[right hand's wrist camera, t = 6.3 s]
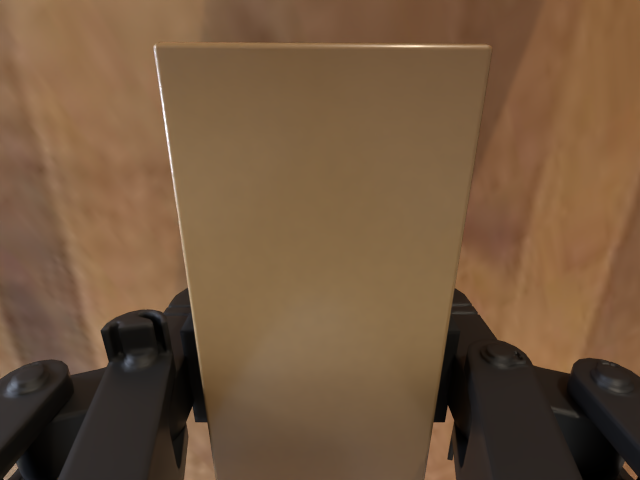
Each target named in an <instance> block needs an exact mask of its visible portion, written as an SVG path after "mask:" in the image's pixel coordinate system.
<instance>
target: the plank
mask: <svg viewBox="0 0 640 480" xmlns="http://www.w3.org/2000/svg"><path fill="white" fill-rule="evenodd" d="M491 55H492V46H490V45H488V44H426V43H249V42H158V43H156V44H154V56H155V63H156V69H157V76H158V83H159V90H160V97H161V104H162V111H163V118H164V125H165V132H166V138H167V145H168V152H169V159H170V166H171V173H172V180H173V187H174V194H175V201H176V208H177V214H178V221H179V228H180V235H181V242H182V249H183V256H184V263H185V270H186V277H187V284H188V290H189V297H190V304H191V311H192V318H193V325H194V332H195V339H196V346H197V353H198V359H199V366H200V373H201V380H202V387H203V394H204V401H205V408H206V415H207V422H208V429H209V435H210V442H211V449H212V456H213V463H214V470H215V477H216V480H424V478H425V471H426V465H427V459H428V453H429V446H430V440H431V434H432V427H433V421H434V415H435V408H436V402H437V396H438V389H439V383H440V377H441V371H442V364H443V358H444V352H445V345H446V339H447V333H448V326H449V320H450V314H451V307H452V301H453V295H454V289H455V282H456V276H457V270H458V263H459V257H460V251H461V244H462V238H463V232H464V226H465V219H466V213H467V207H468V200H469V194H470V188H471V181H472V175H473V169H474V162H475V156H476V150H477V144H478V137H479V131H480V125H481V118H482V112H483V106H484V99H485V93H486V87H487V80H488V74H489V68H490V62H491Z"/></svg>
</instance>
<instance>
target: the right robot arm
mask: <svg viewBox="0 0 640 480" xmlns="http://www.w3.org/2000/svg"><path fill="white" fill-rule="evenodd" d="M101 334H102V338H103V342H104V345H105V349H106V353H107V356H108V360H109V363H108V365H107V367H105V368H102V369H98V370H93V371H89V372H84V373H79V374H74V375H70V373H69V369H68V366H67V365H66V364H65V363H64V362H62V361H58V360H44V361H37V362H33V363H30V364H27V365H24V366H22V367H20V368H18V369H16V370H14V371H12V372H10V373H9V374H7V375H6V376H4V377H3V378H2V379H0V480H4V479H3V478H4V476H5V475H6V474H7V473H8V472H9V470H10V469H11V468H12V467H13V466H14V464H15V463H16V464H17V466H18V469H17V470H16V472H15V473H14V474H13V475H12V476H11V477H10V478H9V479H8V480H184V473H185V464H186V455H187V445H188V431H187V425H186V421H187V418H188V416H189V413H190V411H191V409H192V406H193V411H194V417H195V422H207V415H206V408H205V401H204V394H203V387H202V380H201V373H200V366H199V359H198V353H197V346H196V339H195V332H194V325H193V318H192V311H191V304H190V297H189V290H188V288H187V289H185V290H184V291H182V292H181V293H179V294H178V295H176V296H175V297H174V299H173V300H172V302H171V303H170V304H169V308H167V309H166V310H165V311H164V313H162V312H160V311H156V310H138V311H133V312H128V313H126V314H123V315H121V316H118V317H116V318H114V319H113V320H111V321H110V322H108V323H107V324H106V325H105V326H104V327H103V328H102V330H101ZM448 406H449V409H450V411H451V413H452V416H453V418H454V425H453V430H452V436H451V441H450V446H449V452H448V460H452V459H453V454H454V463H455V472H456V480H634V479H633V478H632V477H631V476H630V475H629V474H628V473H627V472H626V470H625V469H624V468H623V464H624V462H625V461H626V463H627V464H628V465H629V466H630V467H631V469H632V470H633V471H634V472H635V473H636V475H637V476H638V478H637V479H636V480H640V377H639V376H637V375H636V374H635V373H633V372H632V371H630V370H628V369H626V368H624V367H622V366H620V365H618V364H616V363H613V362H609V361H606V360H602V359H593V358H585V359H579V360H578V361H577V362H575V363H574V364H573V367H572V370H571V373H570V374H569V373H564V372H559V371H554V370H550V369H545V368H541V367H537V366H533V365H532V363H531V361H530V359H529V358H528V357H527V355H526V354H525V353H524V352H522V351H521V350H520V349H518V348H517V347H515V346H513V345H511V344H509V343H506V342H504V341H500V340H497V339H496V337H495V336H494V334H493V333H492V332H491V330H490V329H489V327H488V326H487V325H486V323H485V322H484V321H483V319H482V318H481V316H480V315H478V312H477V311H476V310H475V308H474V307H473V306H472V304H471V303H470V301H469V300H468V299H467V297H466V296H465V295H464V294H463V293H461V292H460V291H458V290H457V289H454V295H453V301H452V307H451V314H450V320H449V326H448V333H447V339H446V345H445V352H444V358H443V364H442V371H441V377H440V383H439V389H438V396H437V402H436V408H435V415H434V421H433V422H445V418H446V412H447V407H448Z"/></svg>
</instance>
